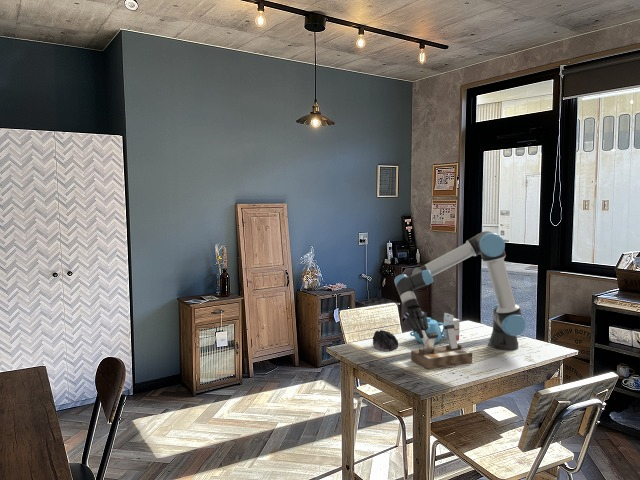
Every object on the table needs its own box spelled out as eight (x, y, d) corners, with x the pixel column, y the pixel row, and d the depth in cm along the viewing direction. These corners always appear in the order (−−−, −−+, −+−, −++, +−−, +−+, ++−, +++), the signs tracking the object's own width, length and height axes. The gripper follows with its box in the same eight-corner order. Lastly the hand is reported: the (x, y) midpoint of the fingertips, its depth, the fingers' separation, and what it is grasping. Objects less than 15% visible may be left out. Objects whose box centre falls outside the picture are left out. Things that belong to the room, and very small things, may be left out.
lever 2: (456, 348, 244) (451, 325, 247) (458, 347, 242) (454, 324, 245) (448, 349, 242) (444, 326, 245) (451, 348, 240) (446, 325, 243)
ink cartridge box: (459, 339, 275) (460, 314, 274) (452, 341, 273) (453, 315, 272) (449, 336, 283) (450, 311, 282) (442, 337, 281) (443, 312, 280)
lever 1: (429, 349, 238) (435, 331, 232) (431, 353, 236) (438, 334, 231) (421, 351, 236) (427, 332, 231) (423, 354, 234) (430, 335, 229)
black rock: (402, 351, 258) (403, 332, 258) (381, 352, 252) (382, 333, 252) (388, 346, 270) (389, 328, 270) (368, 347, 264) (368, 328, 264)
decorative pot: (448, 343, 268) (449, 319, 267) (425, 347, 261) (426, 322, 260) (429, 336, 283) (430, 313, 282) (407, 339, 276) (407, 316, 275)
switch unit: (454, 354, 250) (454, 341, 249) (472, 362, 237) (472, 348, 236) (411, 360, 240) (411, 346, 240) (427, 369, 227) (427, 355, 227)
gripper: (417, 305, 254) (434, 345, 240) (395, 306, 249) (411, 348, 236) (423, 297, 248) (441, 338, 235) (401, 298, 244) (418, 341, 230)
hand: (426, 343), depth 235 cm, fingers closed
